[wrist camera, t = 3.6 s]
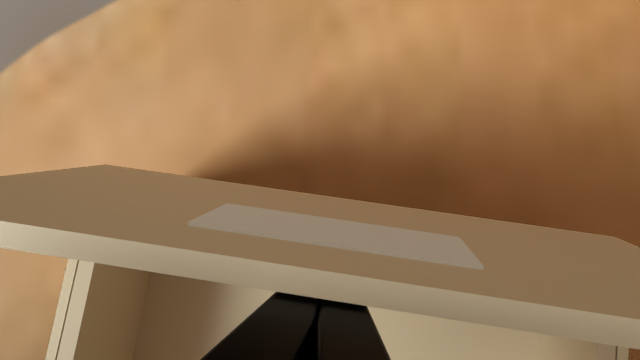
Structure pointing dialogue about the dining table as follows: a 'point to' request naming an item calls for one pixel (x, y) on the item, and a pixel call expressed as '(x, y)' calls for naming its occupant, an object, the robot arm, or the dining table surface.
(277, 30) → the dining table surface
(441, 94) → the dining table surface
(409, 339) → the carton
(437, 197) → the dining table surface
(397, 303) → the flap
